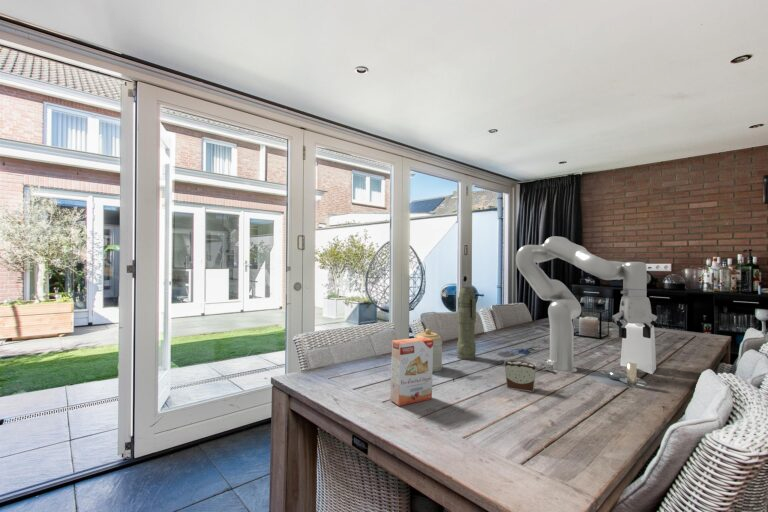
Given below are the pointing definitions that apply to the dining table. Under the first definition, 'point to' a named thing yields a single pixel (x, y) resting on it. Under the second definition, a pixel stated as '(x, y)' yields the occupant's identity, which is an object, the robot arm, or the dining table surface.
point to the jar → (434, 348)
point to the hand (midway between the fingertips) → (634, 337)
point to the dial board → (614, 380)
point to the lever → (621, 375)
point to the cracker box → (411, 370)
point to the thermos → (466, 324)
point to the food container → (520, 374)
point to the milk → (639, 348)
